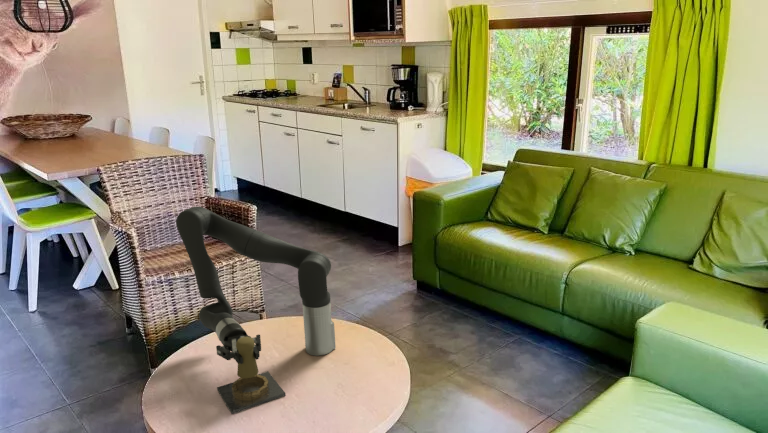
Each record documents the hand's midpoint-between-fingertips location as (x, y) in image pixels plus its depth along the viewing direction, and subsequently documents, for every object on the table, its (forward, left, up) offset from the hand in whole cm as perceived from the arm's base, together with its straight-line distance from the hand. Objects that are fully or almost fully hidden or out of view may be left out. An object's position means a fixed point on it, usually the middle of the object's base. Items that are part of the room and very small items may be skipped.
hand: (249, 358), depth 165 cm
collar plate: (0, -3, -13) cm, 13 cm away
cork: (0, -3, -6) cm, 7 cm away
